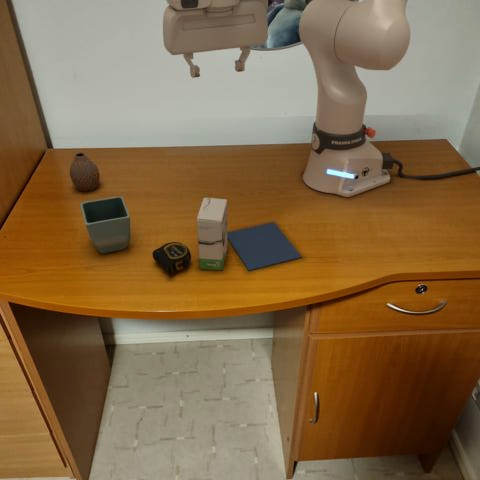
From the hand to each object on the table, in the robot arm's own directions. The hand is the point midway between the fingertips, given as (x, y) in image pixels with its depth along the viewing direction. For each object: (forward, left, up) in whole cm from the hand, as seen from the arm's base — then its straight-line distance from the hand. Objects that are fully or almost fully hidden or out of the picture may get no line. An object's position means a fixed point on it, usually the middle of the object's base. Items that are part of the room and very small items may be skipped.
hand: (217, 73), depth 96 cm
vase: (+29, -19, -29) cm, 45 cm away
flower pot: (+28, +8, -29) cm, 41 cm away
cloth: (-2, +20, -29) cm, 35 cm away
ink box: (+9, +20, -29) cm, 37 cm away
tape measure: (+18, +20, -29) cm, 40 cm away
